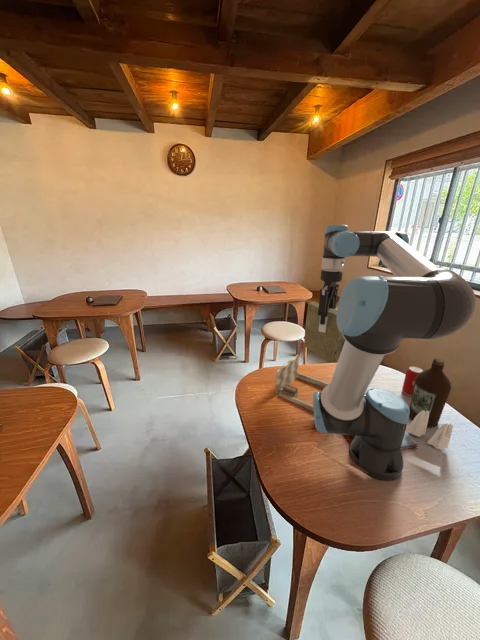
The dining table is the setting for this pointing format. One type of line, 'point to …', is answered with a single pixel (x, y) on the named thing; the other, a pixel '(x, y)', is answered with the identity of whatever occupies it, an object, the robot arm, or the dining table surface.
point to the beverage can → (410, 380)
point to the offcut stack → (290, 390)
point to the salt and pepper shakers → (440, 436)
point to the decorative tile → (323, 334)
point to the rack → (289, 374)
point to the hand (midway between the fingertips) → (325, 329)
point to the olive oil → (430, 392)
